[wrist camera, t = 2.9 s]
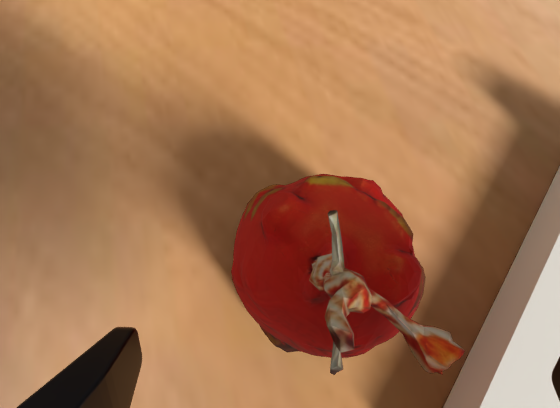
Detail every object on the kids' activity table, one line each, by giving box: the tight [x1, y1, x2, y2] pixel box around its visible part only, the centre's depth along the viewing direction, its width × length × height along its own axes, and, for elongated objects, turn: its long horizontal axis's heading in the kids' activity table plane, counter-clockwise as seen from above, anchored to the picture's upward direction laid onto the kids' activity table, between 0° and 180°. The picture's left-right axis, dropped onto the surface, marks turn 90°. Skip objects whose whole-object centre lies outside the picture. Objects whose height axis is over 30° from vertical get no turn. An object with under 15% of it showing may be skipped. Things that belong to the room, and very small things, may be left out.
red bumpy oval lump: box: [231, 174, 465, 375], centre depth 13 cm, size 8×7×15 cm
